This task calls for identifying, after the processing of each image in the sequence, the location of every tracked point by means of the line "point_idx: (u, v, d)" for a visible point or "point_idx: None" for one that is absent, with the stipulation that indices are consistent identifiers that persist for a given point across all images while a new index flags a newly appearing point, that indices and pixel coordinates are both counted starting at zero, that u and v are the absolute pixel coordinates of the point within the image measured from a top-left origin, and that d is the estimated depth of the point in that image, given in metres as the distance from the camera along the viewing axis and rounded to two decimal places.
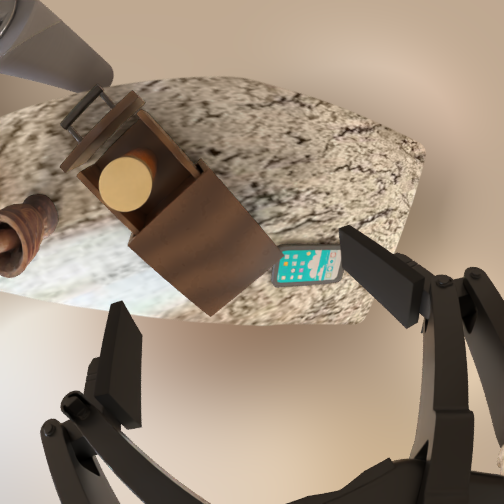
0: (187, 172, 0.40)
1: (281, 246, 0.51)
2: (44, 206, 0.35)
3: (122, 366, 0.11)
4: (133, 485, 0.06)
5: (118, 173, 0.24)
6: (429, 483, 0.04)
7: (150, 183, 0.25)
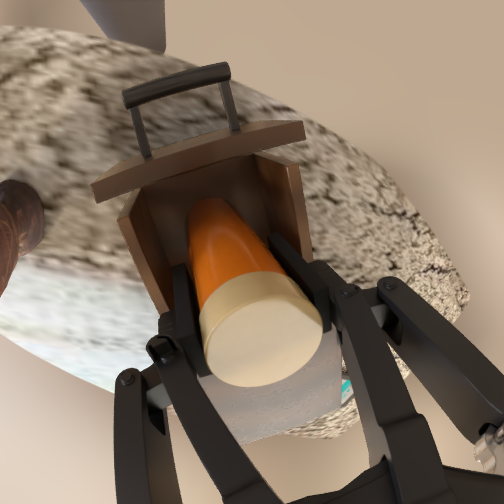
0: None
1: None
2: (28, 212, 0.19)
3: (195, 316, 0.14)
4: (195, 437, 0.07)
5: (269, 324, 0.11)
6: (429, 483, 0.04)
7: (311, 356, 0.13)
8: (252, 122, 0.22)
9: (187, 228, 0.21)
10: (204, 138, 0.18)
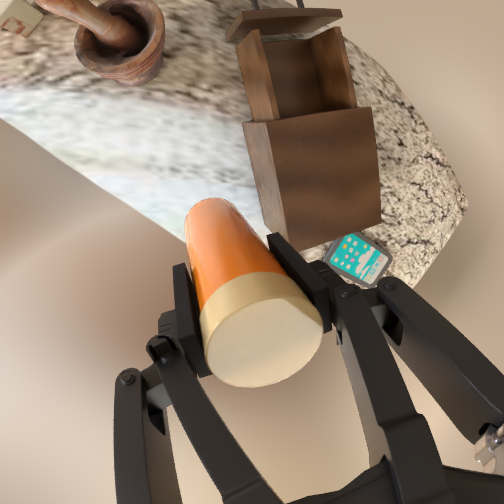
0: (318, 108, 0.36)
1: None
2: None
3: (195, 316, 0.14)
4: (195, 437, 0.07)
5: (269, 325, 0.11)
6: (429, 483, 0.04)
7: (311, 356, 0.13)
8: None
9: (187, 228, 0.21)
10: None
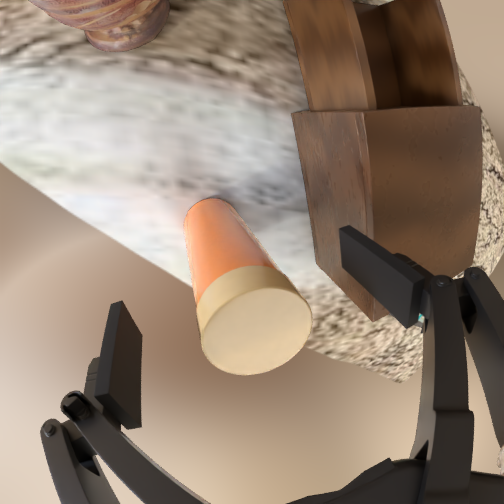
0: (396, 101, 0.23)
1: None
2: None
3: (122, 366, 0.11)
4: (133, 485, 0.06)
5: (261, 314, 0.12)
6: (429, 483, 0.04)
7: (301, 346, 0.14)
8: None
9: (186, 227, 0.22)
10: None
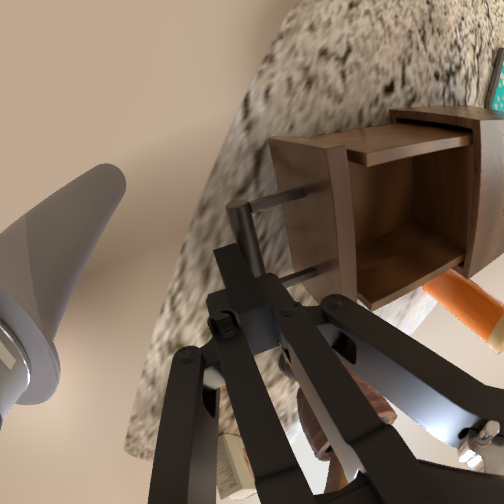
0: None
1: (488, 102, 0.25)
2: None
3: None
4: (241, 415, 0.08)
5: None
6: (429, 483, 0.04)
7: None
8: (272, 148, 0.20)
9: None
10: (307, 222, 0.19)
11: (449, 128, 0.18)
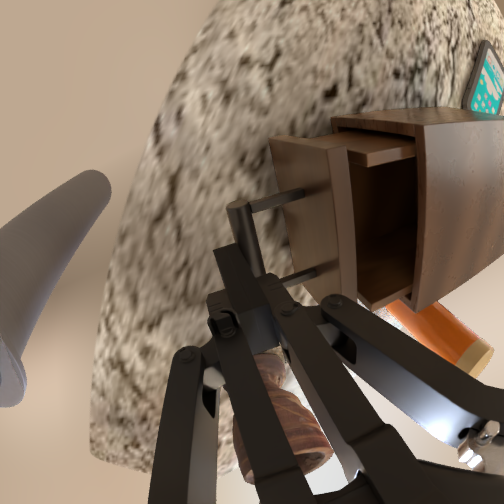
0: None
1: (465, 102, 0.24)
2: None
3: None
4: (241, 415, 0.08)
5: (472, 373, 0.20)
6: (429, 483, 0.04)
7: (492, 349, 0.20)
8: (273, 148, 0.20)
9: None
10: (308, 222, 0.19)
11: None
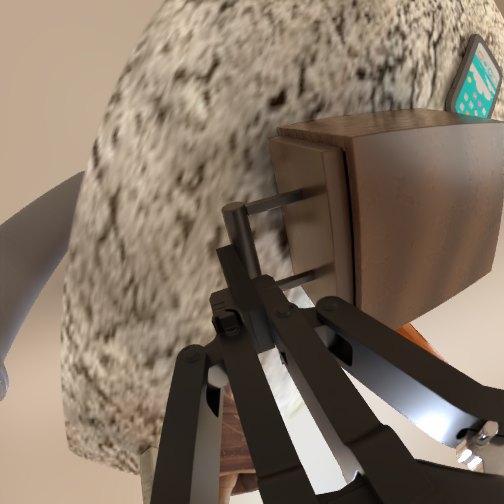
0: None
1: (449, 102, 0.22)
2: None
3: None
4: (244, 414, 0.08)
5: None
6: (429, 483, 0.04)
7: None
8: (272, 149, 0.20)
9: None
10: (305, 225, 0.19)
11: None
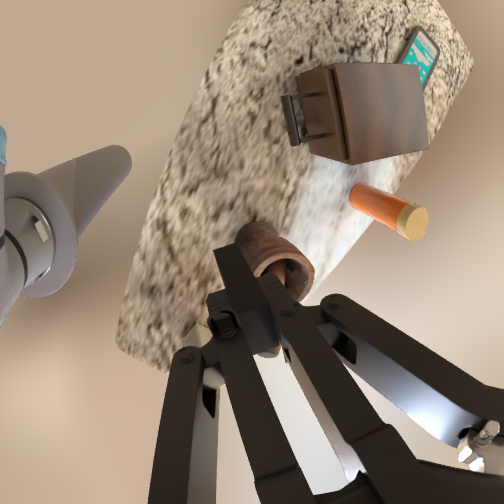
0: None
1: None
2: (256, 230, 0.45)
3: None
4: (241, 415, 0.08)
5: (412, 224, 0.36)
6: (429, 483, 0.04)
7: (425, 210, 0.36)
8: (298, 81, 0.37)
9: None
10: (317, 109, 0.35)
11: None
